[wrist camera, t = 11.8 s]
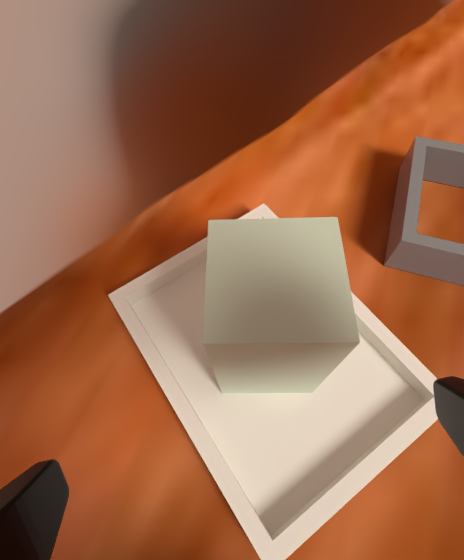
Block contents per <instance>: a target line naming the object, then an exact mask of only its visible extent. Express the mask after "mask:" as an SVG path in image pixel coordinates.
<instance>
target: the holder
mask: <svg viewBox="0 0 464 560" xmlns="http://www.w3.org/2000/svg"><path fill="white" fill-rule="evenodd" d="M423 180H426V181H431V182H436V183H441V184H446V185H451V186H456V187H461V188H464V145H461V144H455V143H450V142H444V141H439V140H433V139H428V138H422V137H417V136H416V137H415V139H414V141H413V143H412V145H411V147H410V149H409V151H408V153H407V154H406V156H405V158H404V160H403V162H402V164H401V166H400V168H399V175H398V181H397V187H396V193H395V200H394V206H393V212H392V218H391V225H390V231H389V237H388V243H387V250H386V256H385V262H384V266H387V267H391V268H395V269H399V270H403V271H407V272H411V273H415V274H419V275H423V276H427V277H431V278H435V279H439V280H442V281H446V282H450V283H454V284H458V285H462V286H464V244H460V243H456V242H452V241H447V240H443V239H439V238H435V237H430V236H426V235H422V234H417V225H418V216H419V207H420V199H421V190H422V181H423Z"/></svg>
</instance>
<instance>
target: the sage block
mask: <svg viewBox="0 0 464 560" xmlns="http://www.w3.org/2000/svg"><path fill="white" fill-rule="evenodd" d="M359 343H360V339H359V333H358V328H357V322H356V317H355V311H354V306H353V300H352V295H351V289H350V284H349V278H348V272H347V267H346V261H345V256H344V250H343V245H342V239H341V234H340V228H339V223H338V217H314V218H271V219H229V220H208V241H207V263H206V285H205V307H204V330H203V346H204V348H205V351H206V353H207V356H208V359H209V361H210V364H211V366H212V369H213V372H214V374H215V377H216V379H217V382H218V384H219V387H220V390H221V392H222V393H313V392H314V391H315V390H316V388H317V387H318V386H319V385H320V384H321V383H322V382H323V381H324V380H325V379H326V378H327V377H328V376H329V375H330V374H331V373H332V372H333V371H334V369H335V368H336V367H337V366H338V365H339V364H340V363H341V362H342V361H343V360H344V359H345V358H346V357H347V356H348V355H349V354H350V353H351V352H352V350H353V349H354V348H355V347H356V346H357V345H358V344H359Z"/></svg>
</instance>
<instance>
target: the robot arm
mask: <svg viewBox="0 0 464 560" xmlns="http://www.w3.org/2000/svg"><path fill="white" fill-rule="evenodd" d="M433 390H434V400H435V410H436V414H437V417H438V419H439V421H440V423H441V425H442V426H443V428H444V429H445V430H446V432H447V433H448V435H449V436H450V438H451V439H452V441H453V442H454V444H455V445H456V447H457V448H458V450H459V451H460V453H461V454H462V456H463V457H464V379H461V378H458V377H454V376H450V377H445V378H441V379H436V380H435V381H434V383H433ZM68 497H69V487H68V484H67V482H66V479H65V477H64V474H63V472H62V469H61V467H60V465H59V463H58V462H57V461H56V460H54V459H52V460H47V461H42V462H38V463H36V464H35V465H33V466H32V467H31V468H29V469H28V470H26V471H25V472H24V473H22V474H21V475H20V476H18V477H17V478H16V479H14V480H13V481H11V482H10V483H9V484H7V485H6V486H5V487H3V488H2V489H1V490H0V560H50V558H51V555H52V552H53V548H54V545H55V542H56V538H57V535H58V531H59V528H60V525H61V521H62V518H63V515H64V511H65V508H66V505H67V501H68Z"/></svg>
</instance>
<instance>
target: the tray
mask: <svg viewBox="0 0 464 560" xmlns="http://www.w3.org/2000/svg"><path fill="white" fill-rule="evenodd" d="M271 218H278V217H277V216H276V215H275V214H274V213H273V212H272V211H271V210H270V209H269V208H268V207H267V206H266V205H265V204H262V205H260V206H259V207H257V208H255V209H254V210H252V211H250V212H249V213H247V214H245V215H243V216H242V217H240V218H238V219H271ZM207 241H208V237H206V238H204V239H202V240H201V241H199V242H197V243H196V244H194V245H192V246H190V247H189V248H187V249H185V250H184V251H182V252H180V253H179V254H177V255H175V256H173V257H172V258H170V259H168V260H167V261H165V262H163V263H161V264H160V265H158V266H156V267H155V268H153V269H151V270H150V271H148V272H146V273H144V274H143V275H141V276H139V277H138V278H136V279H134V280H132V281H131V282H129V283H127V284H126V285H124V286H122V287H121V288H119V289H117V290H115V291H114V292H112V293H110V294H109V295H108V296H109V298H110V300H111V301H112V303H113V305H114V307H115V308H116V310H117V312H118V314H119V315H120V317H121V319H122V320H123V322H124V324H125V326H126V327H127V329H128V331H129V333H130V334H131V336H132V338H133V339H134V341H135V343H136V345H137V346H138V348H139V350H140V352H141V353H142V355H143V357H144V358H145V360H146V362H147V364H148V365H149V367H150V369H151V371H152V372H153V374H154V376H155V377H156V379H157V381H158V383H159V384H160V386H161V388H162V390H163V391H164V393H165V395H166V396H167V398H168V400H169V402H170V403H171V405H172V407H173V409H174V410H175V412H176V414H177V415H178V417H179V419H180V421H181V422H182V424H183V426H184V428H185V429H186V431H187V433H188V434H189V436H190V438H191V440H192V441H193V443H194V445H195V447H196V448H197V450H198V452H199V453H200V455H201V457H202V459H203V460H204V462H205V464H206V466H207V467H208V469H209V471H210V472H211V474H212V476H213V478H214V479H215V481H216V483H217V485H218V486H219V488H220V490H221V491H222V493H223V495H224V497H225V498H226V500H227V502H228V504H229V505H230V507H231V509H232V510H233V512H234V514H235V516H236V517H237V519H238V521H239V523H240V524H241V526H242V528H243V529H244V531H245V533H246V535H247V536H248V538H249V540H250V542H251V543H252V545H253V547H254V548H255V550H256V552H257V554H258V555H259V557H260V559H261V560H285V559H286V558H287V557H288V556H289V555H291V554H292V553H293V552H294V551H295V550H296V549H297V548H298V547H299V546H300V545H301V544H303V543H304V542H305V541H306V540H307V539H308V538H309V537H310V536H311V535H312V534H313V533H314V532H316V531H317V530H318V529H319V528H320V527H321V526H322V525H323V524H324V523H325V522H326V521H327V520H329V519H330V518H331V517H332V516H333V515H334V514H335V513H336V512H337V511H338V510H339V509H341V508H342V507H343V506H344V505H345V504H346V503H347V502H348V501H349V500H350V499H351V498H352V497H354V496H355V495H356V494H357V493H358V492H359V491H360V490H361V489H362V488H363V487H364V486H366V485H367V484H368V483H369V482H370V481H371V480H372V479H373V478H374V477H375V476H376V475H377V474H379V473H380V472H381V471H382V470H383V469H384V468H385V467H386V466H387V465H388V464H389V463H391V462H392V461H393V460H394V459H395V458H396V457H397V456H398V455H399V454H400V453H401V452H402V451H404V450H405V449H406V448H407V447H408V446H409V445H410V444H411V443H412V442H413V441H414V440H415V439H417V438H418V437H419V436H420V435H421V434H422V433H423V432H424V431H425V430H426V429H427V428H429V427H430V426H431V425H432V424H433V423H434V422H435V421H436V420H437V419H438V417H437V414H436V410H435V400H434V390H433V383H434V381H435V380H436V379H437V378H436V377H435V376H434V375H433V374H432V373H431V372H430V371H429V370H428V369H427V368H426V367H425V366H424V365H423V364H422V363H421V362H420V361H419V360H418V359H417V358H416V357H415V356H414V355H413V354H412V353H411V352H410V351H409V350H408V349H407V348H406V347H405V346H404V345H403V344H402V343H401V342H400V341H399V340H398V339H397V338H396V337H395V336H394V335H393V334H392V333H391V332H390V331H389V329H388V328H387V327H386V326H385V325H384V324H383V323H382V322H381V321H380V320H379V319H378V318H377V317H376V316H375V315H374V314H373V313H372V312H371V311H370V310H369V309H368V308H367V307H366V306H365V305H364V304H363V303H362V302H361V301H360V300H359V299H358V298H357V297H356V296H355V295H354V294H353V293H352V292H351V295H352V300H353V306H354V311H355V317H356V322H357V328H358V333H359V339H360V343H359V344H358V345H357V346H356V347H355V348H354V349H353V350H352V352H351V353H350V354H349V355H348V356H347V357H346V358H345V359H344V360H343V361H342V362H341V363H340V364H339V365H338V366H337V367H336V368H335V369H334V371H333V372H332V373H331V374H330V375H329V376H328V377H327V378H326V379H325V380H324V381H323V382H322V383H321V384H320V385H319V386H318V387H317V388H316V390H315V391H314V392H313V393H222V392H221V390H220V387H219V384H218V382H217V379H216V377H215V374H214V372H213V369H212V366H211V364H210V361H209V359H208V356H207V353H206V351H205V348H204V346H203V330H204V307H205V285H206V263H207Z"/></svg>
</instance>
